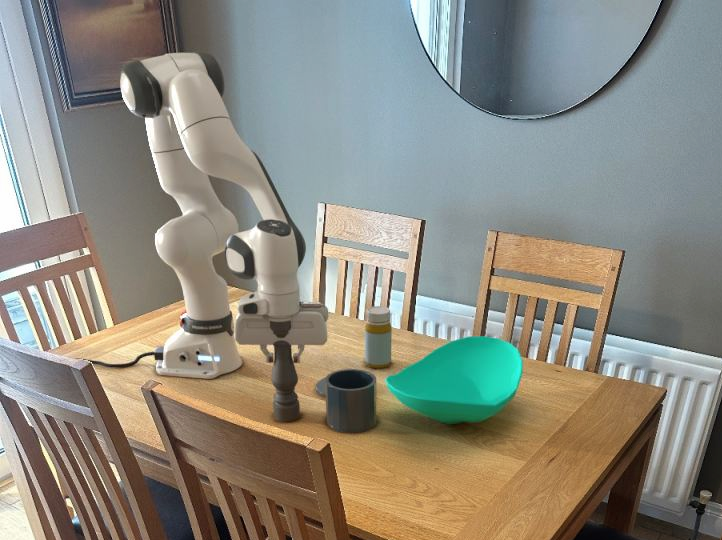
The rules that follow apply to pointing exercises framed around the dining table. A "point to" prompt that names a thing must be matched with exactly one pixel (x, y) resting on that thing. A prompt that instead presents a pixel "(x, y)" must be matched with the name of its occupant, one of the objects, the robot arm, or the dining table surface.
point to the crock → (350, 400)
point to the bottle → (378, 337)
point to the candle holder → (284, 376)
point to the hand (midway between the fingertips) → (283, 362)
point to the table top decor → (461, 380)
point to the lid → (321, 386)
